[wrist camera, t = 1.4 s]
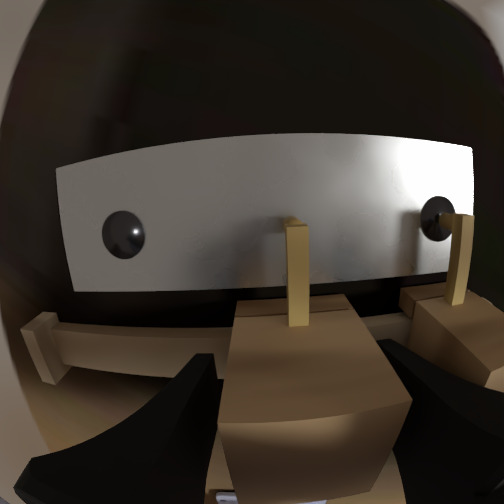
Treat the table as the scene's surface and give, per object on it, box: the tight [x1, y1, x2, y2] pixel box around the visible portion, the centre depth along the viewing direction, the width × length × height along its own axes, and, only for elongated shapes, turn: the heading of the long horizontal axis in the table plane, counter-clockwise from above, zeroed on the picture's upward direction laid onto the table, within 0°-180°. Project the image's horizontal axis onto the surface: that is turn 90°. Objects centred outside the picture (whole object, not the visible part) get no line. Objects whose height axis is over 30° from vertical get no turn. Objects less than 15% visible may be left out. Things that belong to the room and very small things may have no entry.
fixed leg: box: [398, 213, 504, 392], centre depth 7 cm, size 8×3×6 cm, turn 4°
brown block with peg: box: [217, 216, 412, 504], centre depth 8 cm, size 8×4×6 cm, turn 4°
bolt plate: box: [56, 133, 473, 291], centre depth 10 cm, size 5×17×1 cm, turn 94°
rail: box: [20, 297, 492, 385], centre depth 10 cm, size 3×22×2 cm, turn 94°
